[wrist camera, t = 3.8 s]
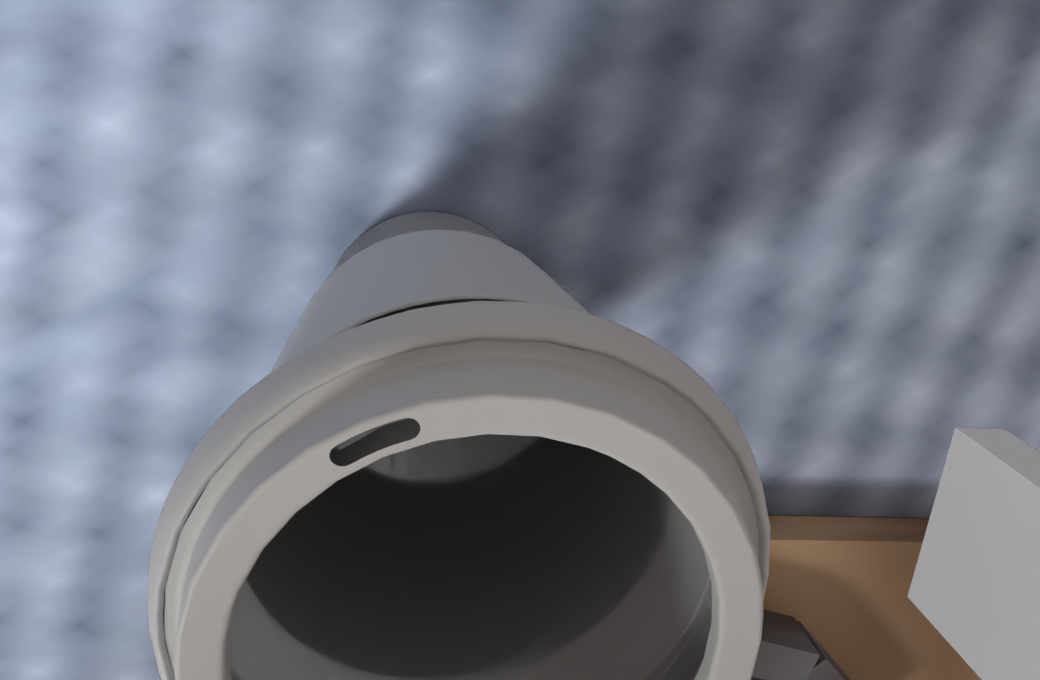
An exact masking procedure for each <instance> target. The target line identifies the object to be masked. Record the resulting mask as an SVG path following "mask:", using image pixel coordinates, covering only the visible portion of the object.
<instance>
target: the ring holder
mask: <svg viewBox="0 0 1040 680" xmlns="http://www.w3.org/2000/svg"><path fill="white" fill-rule="evenodd" d="M768 517H769V522H770V554H769V575H768V580H767V585H766V590H765V596H764V601H763V626H762V639H761V643H760V647H759V650H758V654H757V659H756V663H755V666H754V670H753V673H752V677H751V680H981V678H980V677H979V676H978V675H977V674H976V673H975V672H974V671H973V669H972V668H971V667H970V666H969V665H968V664H967V663H966V662H965V661H964V659H963V658H962V657H961V656H960V655H959V654H958V653H957V652H956V650H955V649H954V648H953V647H952V646H951V645H950V644H949V643H948V642H947V640H946V639H945V638H944V637H943V636H942V635H941V634H940V633H939V631H938V630H937V629H936V628H935V627H934V626H933V625H932V624H931V622H930V621H929V620H928V619H927V618H926V617H925V616H924V615H923V614H922V612H921V611H920V610H919V609H918V608H917V607H916V606H915V605H914V603H913V602H912V601H911V600H910V599H909V598H908V597H907V596H908V593H909V589H910V586H911V582H912V578H913V575H914V571H915V568H916V564H917V561H918V557H919V554H920V550H921V547H922V543H923V540H924V536H925V532H926V529H927V525H928V522H929V519H924V518H873V517H822V516H770V515H768Z"/></svg>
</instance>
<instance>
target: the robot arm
mask: <svg viewBox="0 0 1040 680" xmlns="http://www.w3.org/2000/svg"><path fill="white" fill-rule="evenodd" d="M907 597H908V598H909V599H910V600H911V601H912V602H913V603H914V605H915V606H916V607H917V608H918V609H919V610H920V611H921V612H922V614H923V615H924V616H925V617H926V618H927V619H928V620H929V621H930V622H931V624H932V625H933V626H934V627H935V628H936V629H937V630H938V631H939V633H940V634H941V635H942V636H943V637H944V638H945V639H946V640H947V642H948V643H949V644H950V645H951V646H952V647H953V648H954V649H955V650H956V652H957V653H958V654H959V655H960V656H961V657H962V658H963V659H964V661H965V662H966V663H967V664H968V665H969V666H970V667H971V668H972V669H973V671H974V672H975V673H976V674H977V675H978V676H979V677H980V678H981V680H1040V452H1038V451H1037V450H1035V449H1034V448H1032V447H1031V446H1029V445H1028V444H1026V443H1025V442H1023V441H1022V440H1020V439H1019V438H1017V437H1016V436H1014V435H1013V434H1011V433H1010V432H1008V431H1007V430H1005V429H986V428H962V427H955V430H954V433H953V437H952V441H951V444H950V448H949V451H948V455H947V458H946V462H945V465H944V469H943V472H942V476H941V479H940V483H939V487H938V490H937V494H936V497H935V501H934V504H933V508H932V511H931V515H930V518H929V522H928V525H927V529H926V532H925V536H924V540H923V543H922V547H921V550H920V554H919V557H918V561H917V564H916V568H915V571H914V575H913V578H912V582H911V586H910V589H909V593H908V596H907Z"/></svg>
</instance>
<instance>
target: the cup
mask: <svg viewBox="0 0 1040 680" xmlns="http://www.w3.org/2000/svg"><path fill="white" fill-rule="evenodd" d="M769 554H770V522H769V517H768V512H767V506H766V501H765V496H764V491H763V485H762V481H761V477H760V474H759V471H758V467H757V464H756V461H755V459H754V456H753V453H752V451H751V448H750V446H749V443H748V441H747V439H746V437H745V435H744V433H743V431H742V430H741V428H740V426H739V424H738V422H737V421H736V419H735V418H734V416H733V415H732V413H731V412H730V410H729V409H728V407H727V406H726V405H725V403H724V402H723V401H722V399H721V398H720V397H719V396H718V394H717V393H716V392H715V391H714V390H713V389H712V388H711V386H710V385H709V384H708V383H707V382H706V381H705V380H704V379H703V378H702V377H701V376H699V375H698V374H697V373H696V372H695V371H694V370H693V369H692V368H691V367H689V366H688V365H687V364H686V363H685V362H683V361H682V360H681V359H680V358H678V357H677V356H675V355H674V354H672V353H671V352H669V351H668V350H667V349H665V348H663V347H662V346H660V345H659V344H657V343H655V342H654V341H652V340H651V339H649V338H647V337H645V336H643V335H641V334H639V333H637V332H635V331H632V330H630V329H628V328H626V327H623V326H621V325H619V324H617V323H614V322H612V321H610V320H607V319H604V318H600V317H597V316H593V315H591V314H590V313H589V312H588V311H587V310H585V309H584V308H583V307H582V306H581V305H580V304H579V303H578V302H577V301H576V300H575V299H573V298H572V297H571V296H570V295H569V294H568V293H567V292H566V291H565V290H564V289H563V288H561V287H560V286H559V285H558V284H557V283H556V282H555V281H554V280H553V279H552V278H551V277H549V276H548V275H547V274H546V273H545V272H544V271H543V270H542V269H540V268H539V267H538V266H537V265H536V264H534V263H533V262H532V261H531V260H530V259H528V258H527V257H526V256H525V255H524V254H522V253H521V252H519V251H517V250H515V249H513V248H511V247H509V246H508V245H506V244H505V243H504V242H502V241H501V240H500V239H499V238H498V237H497V236H496V235H495V234H493V233H492V232H491V231H489V230H488V229H486V228H485V227H483V226H481V225H480V224H478V223H476V222H474V221H472V220H469V219H467V218H464V217H461V216H458V215H454V214H450V213H443V212H431V211H427V212H414V213H408V214H404V215H400V216H396V217H393V218H391V219H388V220H386V221H384V222H381V223H379V224H377V225H376V226H374V227H372V228H371V229H369V230H368V231H366V232H365V233H364V234H362V235H361V236H360V237H359V238H358V239H357V240H355V241H354V242H353V243H352V245H351V246H350V247H349V248H348V249H347V250H346V252H345V253H344V254H343V256H342V257H341V258H340V260H339V262H338V264H337V265H336V267H335V269H334V271H333V272H332V273H331V274H330V276H329V277H328V278H327V279H326V280H325V282H324V283H323V284H322V285H321V287H320V288H319V289H318V290H317V291H316V293H315V294H314V295H313V296H312V298H311V300H310V302H309V304H308V306H307V307H306V309H305V311H304V313H303V315H302V317H301V318H300V320H299V322H298V324H297V326H296V328H295V329H294V331H293V333H292V335H291V337H290V338H289V340H288V342H287V344H286V346H285V348H284V349H283V351H282V353H281V355H280V357H279V359H278V360H277V362H276V364H275V366H274V368H273V370H272V371H271V373H270V374H269V375H267V376H266V377H264V378H263V379H262V380H261V381H259V382H258V383H257V384H256V385H254V386H253V387H252V388H251V389H249V390H248V391H247V392H246V393H244V394H243V395H242V396H241V397H240V398H239V399H238V400H237V401H236V402H235V403H234V404H233V405H232V406H231V407H230V408H229V409H228V410H227V411H226V412H225V413H224V414H223V415H222V416H221V417H220V418H219V419H218V420H217V421H216V422H215V423H214V425H213V426H212V427H211V428H210V429H209V430H208V432H207V433H206V434H205V436H204V437H203V438H202V440H201V441H200V442H199V444H198V445H197V446H196V448H195V449H194V451H193V452H192V453H191V455H190V456H189V458H188V459H187V461H186V462H185V464H184V466H183V468H182V469H181V471H180V473H179V475H178V477H177V478H176V480H175V482H174V484H173V486H172V488H171V490H170V493H169V495H168V497H167V499H166V501H165V504H164V507H163V509H162V512H161V514H160V518H159V521H158V524H157V527H156V531H155V535H154V539H153V543H152V549H151V554H150V561H149V570H148V585H147V593H148V619H149V632H150V636H151V640H152V644H153V649H154V653H155V657H156V661H157V666H158V670H159V674H160V677H161V679H162V680H751V677H752V673H753V670H754V666H755V663H756V659H757V654H758V650H759V647H760V643H761V639H762V626H763V601H764V596H765V590H766V585H767V580H768V575H769Z"/></svg>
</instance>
